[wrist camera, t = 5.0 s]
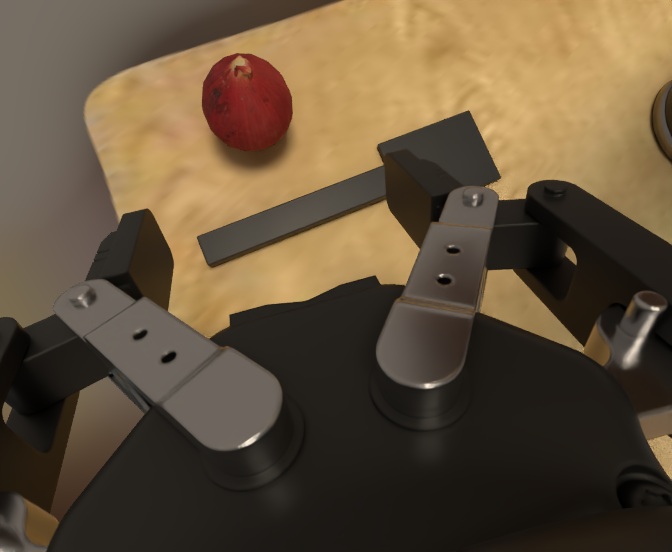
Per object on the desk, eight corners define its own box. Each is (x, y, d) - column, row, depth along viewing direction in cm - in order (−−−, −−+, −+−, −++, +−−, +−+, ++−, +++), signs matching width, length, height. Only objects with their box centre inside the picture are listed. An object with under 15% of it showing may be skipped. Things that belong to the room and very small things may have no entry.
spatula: (466, 113, 31) (473, 104, 30) (498, 180, 31) (506, 174, 29) (191, 216, 28) (186, 211, 27) (221, 292, 28) (217, 290, 27)
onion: (234, 180, 29) (207, 125, 21) (203, 113, 29) (166, 34, 21) (305, 151, 30) (306, 88, 22) (274, 86, 30) (264, 1, 22)
